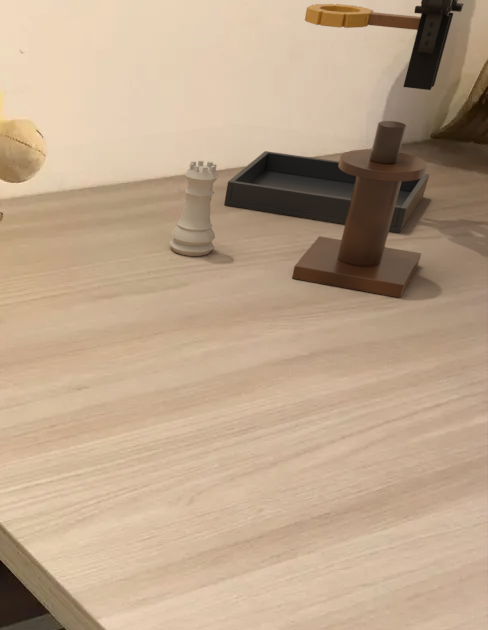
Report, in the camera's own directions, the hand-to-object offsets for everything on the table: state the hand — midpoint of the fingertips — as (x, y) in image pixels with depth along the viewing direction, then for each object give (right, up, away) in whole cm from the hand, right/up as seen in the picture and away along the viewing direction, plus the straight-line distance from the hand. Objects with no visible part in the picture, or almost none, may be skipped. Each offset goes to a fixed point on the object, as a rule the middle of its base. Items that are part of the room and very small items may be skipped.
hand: (418, 85), depth 107 cm
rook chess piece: (-24, -19, -3) cm, 31 cm away
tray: (-6, -7, +10) cm, 14 cm away
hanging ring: (-5, +5, -1) cm, 8 cm away
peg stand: (-9, -22, -8) cm, 25 cm away
